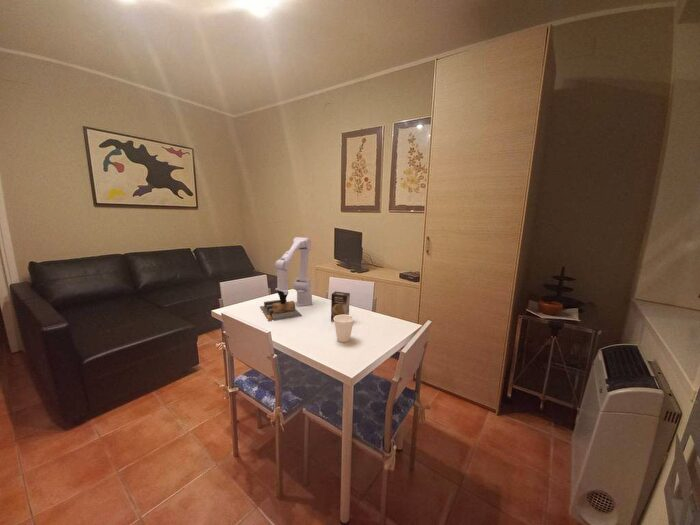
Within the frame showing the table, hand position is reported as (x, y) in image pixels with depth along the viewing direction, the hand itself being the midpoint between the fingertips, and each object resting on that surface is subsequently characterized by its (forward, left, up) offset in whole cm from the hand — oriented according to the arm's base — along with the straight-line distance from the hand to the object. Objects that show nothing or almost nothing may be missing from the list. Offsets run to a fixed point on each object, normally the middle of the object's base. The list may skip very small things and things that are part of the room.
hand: (282, 303), depth 161 cm
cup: (-18, +42, -8) cm, 47 cm away
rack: (0, -8, -8) cm, 11 cm away
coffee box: (-27, +20, -8) cm, 35 cm away
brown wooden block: (0, 0, -7) cm, 7 cm away
